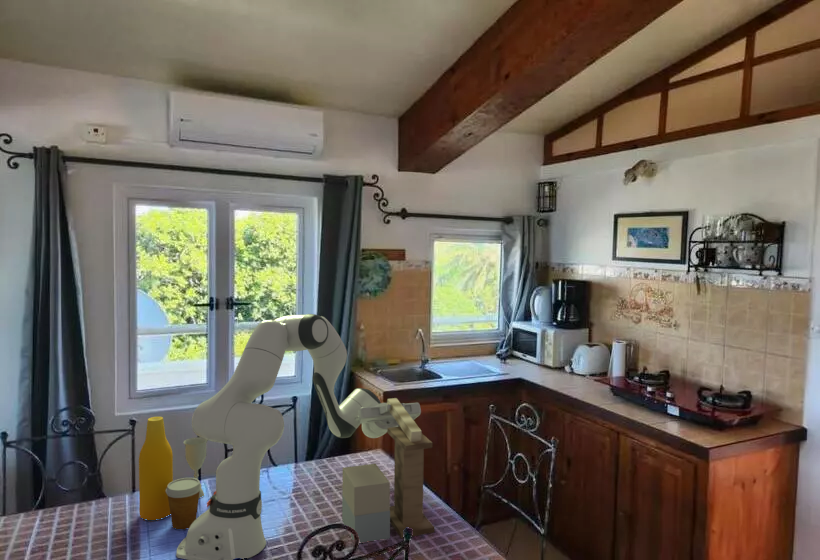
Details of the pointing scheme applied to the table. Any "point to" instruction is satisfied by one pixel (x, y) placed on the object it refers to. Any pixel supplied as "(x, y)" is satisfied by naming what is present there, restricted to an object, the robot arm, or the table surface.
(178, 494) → the disposable coffee cup
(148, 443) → the beer bottle
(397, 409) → the batten
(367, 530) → the tower base block
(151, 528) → the table surface
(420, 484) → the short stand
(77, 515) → the table surface
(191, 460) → the chalice
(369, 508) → the tower top block
